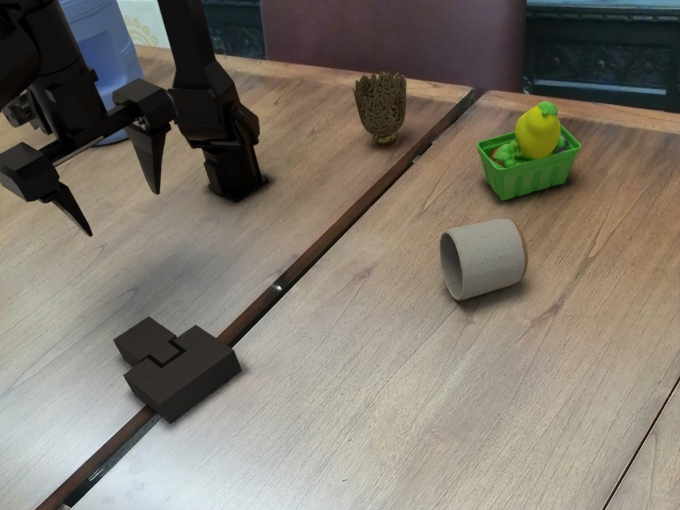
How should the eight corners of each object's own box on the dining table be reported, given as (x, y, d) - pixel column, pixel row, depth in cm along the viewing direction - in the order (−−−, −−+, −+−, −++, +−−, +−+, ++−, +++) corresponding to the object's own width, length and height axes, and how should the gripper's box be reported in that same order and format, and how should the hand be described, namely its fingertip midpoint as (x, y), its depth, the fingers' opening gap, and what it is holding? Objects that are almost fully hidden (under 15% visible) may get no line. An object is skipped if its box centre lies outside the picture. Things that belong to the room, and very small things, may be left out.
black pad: (158, 336, 81) (148, 315, 79) (198, 364, 78) (189, 344, 75) (123, 359, 80) (112, 339, 77) (163, 390, 76) (152, 370, 74)
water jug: (86, 102, 120) (-6, -108, 97) (170, 97, 117) (96, -120, 94) (49, 149, 111) (-61, -68, 89) (139, 146, 109) (49, -80, 86)
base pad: (204, 344, 80) (195, 323, 77) (242, 370, 76) (234, 349, 74) (133, 394, 76) (122, 374, 74) (170, 424, 73) (159, 404, 70)
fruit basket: (552, 157, 94) (560, 66, 84) (583, 189, 89) (596, 96, 79) (474, 180, 93) (473, 90, 83) (501, 214, 88) (504, 123, 78)
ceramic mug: (530, 293, 78) (534, 231, 72) (463, 314, 77) (461, 254, 71) (492, 244, 84) (492, 184, 78) (429, 264, 84) (425, 204, 77)
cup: (405, 155, 98) (400, 95, 92) (355, 155, 100) (347, 96, 93) (415, 128, 102) (410, 69, 96) (366, 128, 104) (359, 70, 97)
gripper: (88, 4, 71) (148, 153, 84) (-77, 84, 65) (16, 232, 77) (150, 26, 66) (204, 181, 79) (-22, 115, 59) (68, 268, 72)
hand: (123, 213), depth 77 cm, fingers open, 9 cm apart
